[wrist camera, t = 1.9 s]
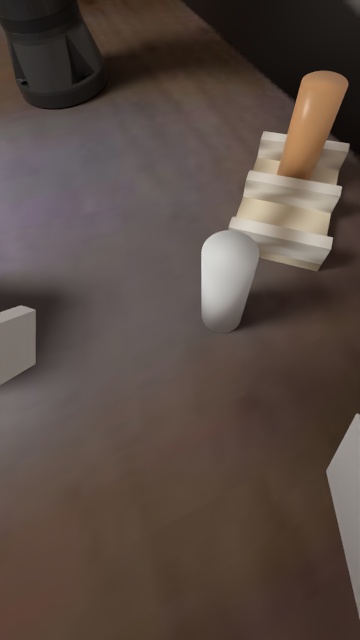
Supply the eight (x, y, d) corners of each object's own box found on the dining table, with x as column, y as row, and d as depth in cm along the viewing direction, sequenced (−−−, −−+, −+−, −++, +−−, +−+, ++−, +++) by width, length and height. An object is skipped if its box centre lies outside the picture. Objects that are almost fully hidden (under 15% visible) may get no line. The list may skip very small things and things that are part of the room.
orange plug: (273, 169, 36) (297, 72, 27) (306, 167, 35) (342, 69, 26) (278, 192, 34) (306, 97, 25) (312, 190, 34) (353, 93, 25)
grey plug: (200, 298, 30) (200, 231, 21) (239, 297, 30) (255, 228, 21) (202, 334, 28) (202, 277, 19) (243, 332, 28) (263, 275, 19)
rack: (225, 249, 32) (228, 227, 29) (258, 158, 38) (263, 131, 35) (317, 271, 30) (331, 249, 27) (336, 171, 36) (349, 143, 33)
